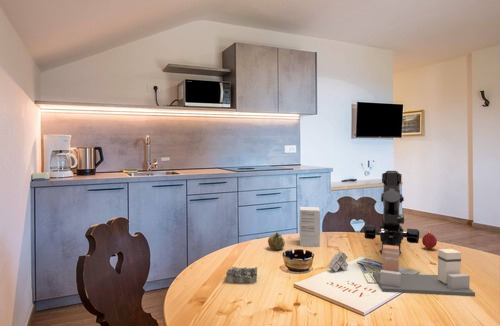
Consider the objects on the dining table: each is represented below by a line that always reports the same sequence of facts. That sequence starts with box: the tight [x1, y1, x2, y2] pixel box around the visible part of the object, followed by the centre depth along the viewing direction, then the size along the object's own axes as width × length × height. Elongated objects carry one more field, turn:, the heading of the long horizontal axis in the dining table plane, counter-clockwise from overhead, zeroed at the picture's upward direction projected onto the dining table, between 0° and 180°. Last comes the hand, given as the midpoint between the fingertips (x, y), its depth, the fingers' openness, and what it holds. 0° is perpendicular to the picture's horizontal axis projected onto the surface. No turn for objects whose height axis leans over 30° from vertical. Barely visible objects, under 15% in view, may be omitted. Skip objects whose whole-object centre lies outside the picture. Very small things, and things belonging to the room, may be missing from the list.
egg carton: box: [225, 266, 258, 285], centre depth 118 cm, size 11×8×4 cm
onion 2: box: [267, 231, 286, 251], centre depth 154 cm, size 8×8×8 cm
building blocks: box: [327, 251, 349, 273], centre depth 129 cm, size 5×5×8 cm
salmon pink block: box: [381, 245, 400, 272], centre depth 117 cm, size 4×5×10 cm
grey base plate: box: [372, 269, 476, 297], centre depth 113 cm, size 14×27×5 cm, turn 83°
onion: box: [421, 231, 438, 250], centre depth 153 cm, size 6×6×8 cm
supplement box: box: [299, 206, 321, 248], centre depth 162 cm, size 10×9×17 cm
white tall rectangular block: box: [437, 248, 462, 284], centre depth 113 cm, size 4×5×10 cm
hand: (390, 254), depth 123 cm, fingers closed
